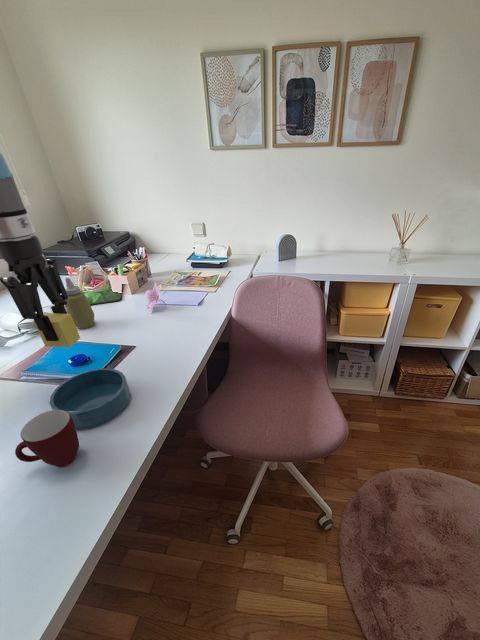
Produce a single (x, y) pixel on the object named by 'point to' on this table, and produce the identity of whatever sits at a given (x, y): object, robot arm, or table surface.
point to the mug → (50, 439)
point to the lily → (153, 297)
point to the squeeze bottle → (78, 306)
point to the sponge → (61, 330)
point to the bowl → (92, 397)
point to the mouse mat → (102, 296)
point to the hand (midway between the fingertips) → (59, 334)
